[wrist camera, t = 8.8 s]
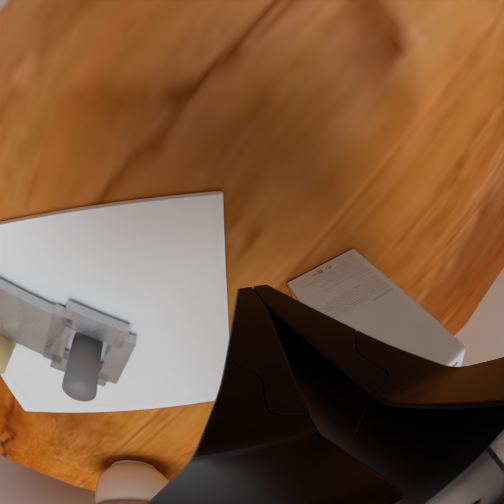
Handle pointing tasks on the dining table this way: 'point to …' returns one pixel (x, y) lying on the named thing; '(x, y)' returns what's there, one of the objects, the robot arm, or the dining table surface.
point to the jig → (124, 300)
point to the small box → (376, 307)
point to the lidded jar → (129, 483)
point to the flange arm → (62, 330)
